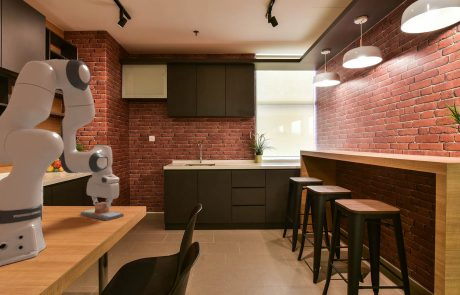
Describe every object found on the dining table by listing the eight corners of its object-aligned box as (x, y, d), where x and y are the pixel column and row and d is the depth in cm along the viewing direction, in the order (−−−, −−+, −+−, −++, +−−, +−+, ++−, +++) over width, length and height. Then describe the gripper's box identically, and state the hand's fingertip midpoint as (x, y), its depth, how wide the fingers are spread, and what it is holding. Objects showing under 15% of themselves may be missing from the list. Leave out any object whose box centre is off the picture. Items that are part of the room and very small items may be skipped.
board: (107, 220, 117) (107, 217, 117) (80, 214, 127) (80, 211, 127) (123, 216, 125) (123, 213, 125) (97, 210, 135) (97, 208, 135)
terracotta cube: (100, 214, 123) (100, 204, 123) (94, 212, 125) (94, 203, 125) (109, 212, 127) (109, 202, 127) (103, 210, 129) (103, 201, 129)
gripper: (83, 177, 128) (82, 204, 128) (110, 179, 119) (109, 209, 119) (95, 176, 134) (94, 202, 134) (121, 178, 124) (121, 207, 124)
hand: (101, 206), depth 126 cm, fingers open, 8 cm apart
